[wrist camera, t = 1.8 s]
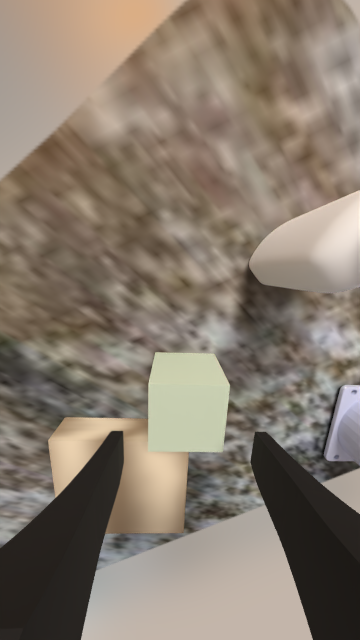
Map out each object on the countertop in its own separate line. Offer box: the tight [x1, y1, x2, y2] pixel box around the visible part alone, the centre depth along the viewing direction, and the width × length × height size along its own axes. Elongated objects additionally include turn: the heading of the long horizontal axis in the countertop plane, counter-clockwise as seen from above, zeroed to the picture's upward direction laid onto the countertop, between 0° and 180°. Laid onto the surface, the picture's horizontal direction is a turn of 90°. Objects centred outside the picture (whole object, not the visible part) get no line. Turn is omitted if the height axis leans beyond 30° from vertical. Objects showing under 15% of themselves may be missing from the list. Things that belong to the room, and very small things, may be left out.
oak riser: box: [48, 418, 189, 534], centre depth 19 cm, size 11×10×3 cm
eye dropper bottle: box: [249, 190, 360, 293], centre depth 10 cm, size 4×6×12 cm
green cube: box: [148, 352, 230, 452], centre depth 16 cm, size 5×5×5 cm
